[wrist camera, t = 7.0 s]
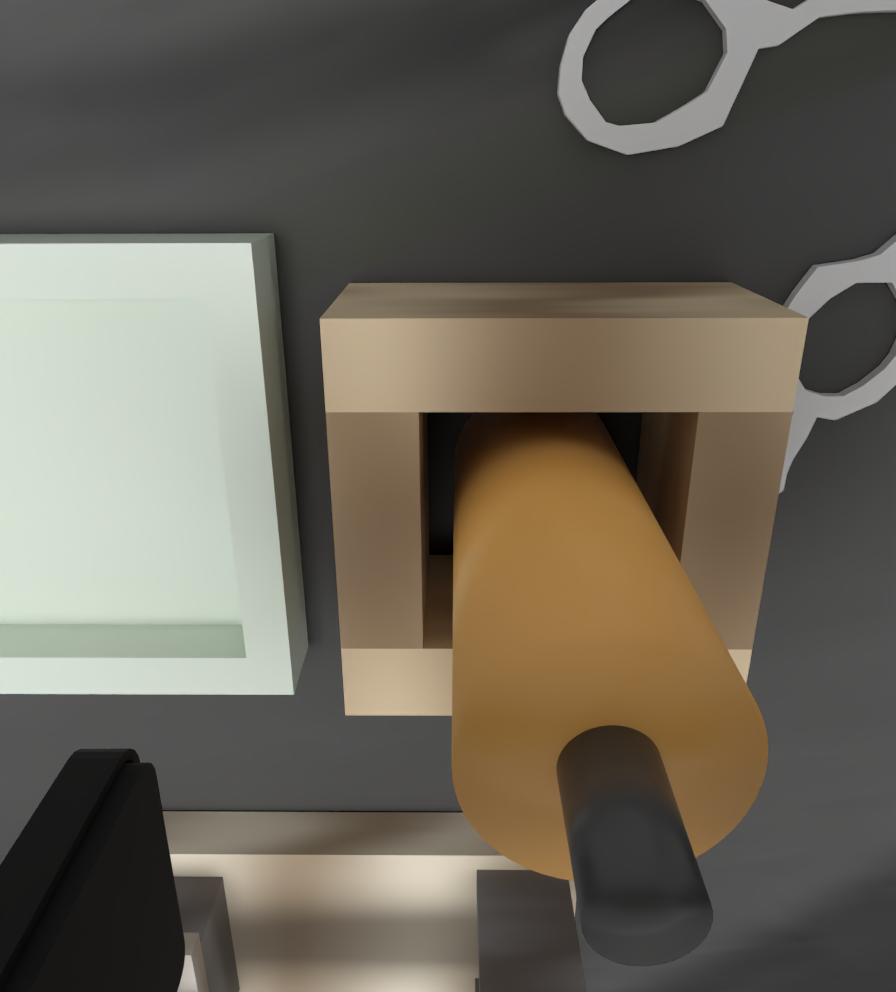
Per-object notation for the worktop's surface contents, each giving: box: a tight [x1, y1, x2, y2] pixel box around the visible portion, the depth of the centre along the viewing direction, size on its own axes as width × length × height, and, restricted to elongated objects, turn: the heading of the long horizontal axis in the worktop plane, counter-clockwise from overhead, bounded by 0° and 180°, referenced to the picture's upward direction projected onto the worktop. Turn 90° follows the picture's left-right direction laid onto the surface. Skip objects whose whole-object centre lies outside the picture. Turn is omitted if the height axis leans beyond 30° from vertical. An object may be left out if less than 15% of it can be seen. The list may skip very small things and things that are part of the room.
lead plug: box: [452, 412, 768, 966], centre depth 13 cm, size 4×4×12 cm
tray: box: [0, 233, 308, 695], centre depth 18 cm, size 10×10×2 cm
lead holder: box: [320, 282, 809, 716], centre depth 17 cm, size 8×8×4 cm
